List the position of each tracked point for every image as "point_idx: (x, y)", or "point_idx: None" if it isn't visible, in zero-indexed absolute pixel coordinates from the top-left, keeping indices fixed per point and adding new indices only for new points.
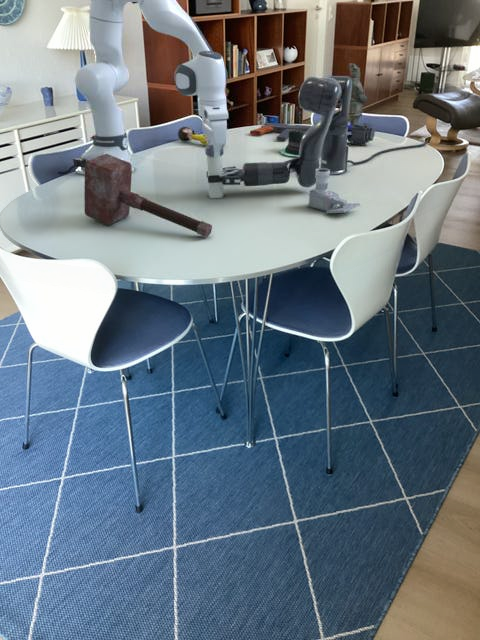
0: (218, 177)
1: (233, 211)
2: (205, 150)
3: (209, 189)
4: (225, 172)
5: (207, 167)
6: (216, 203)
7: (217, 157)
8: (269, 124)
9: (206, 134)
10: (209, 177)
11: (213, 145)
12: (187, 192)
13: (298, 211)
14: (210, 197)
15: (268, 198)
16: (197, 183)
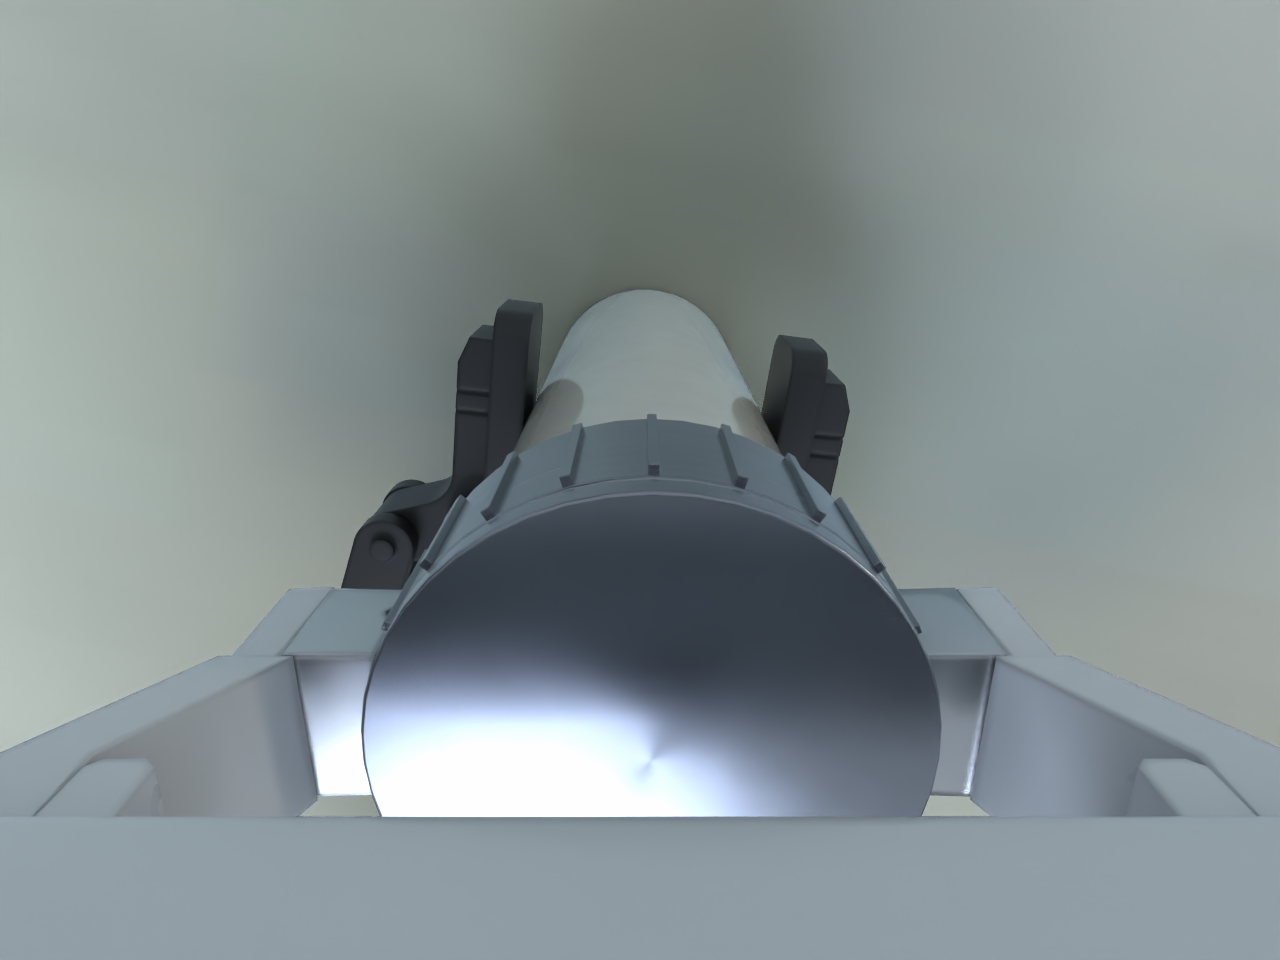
0: (460, 473)
1: (80, 442)
2: (643, 453)
3: (612, 309)
4: None
5: (656, 368)
6: (375, 324)
7: None
8: None
9: (1167, 935)
10: (496, 336)
11: (94, 777)
12: (922, 37)
13: None
14: (603, 300)
15: None
16: (1243, 253)
